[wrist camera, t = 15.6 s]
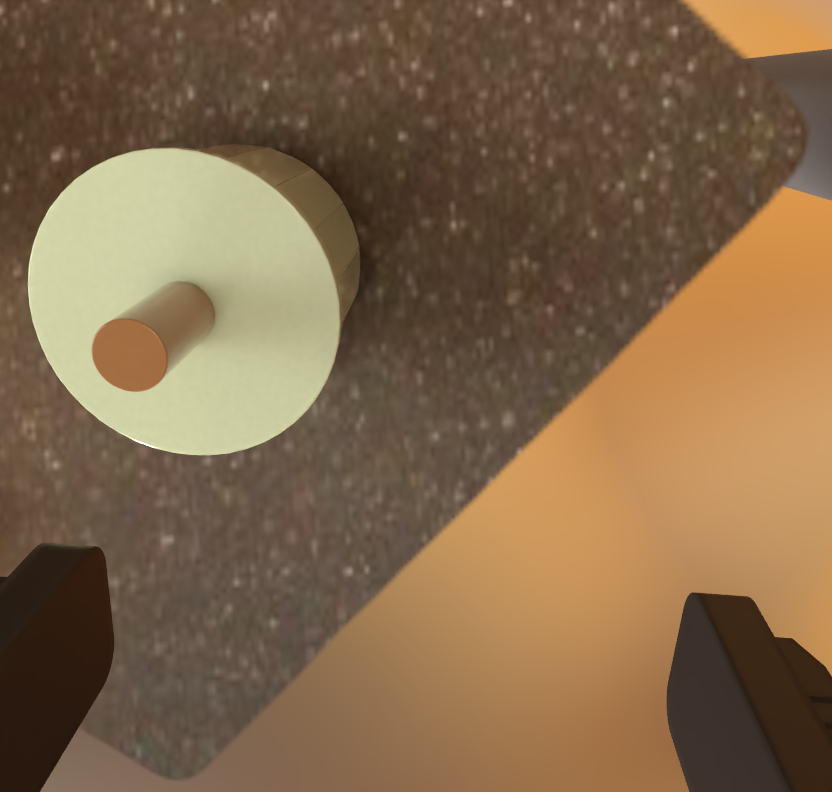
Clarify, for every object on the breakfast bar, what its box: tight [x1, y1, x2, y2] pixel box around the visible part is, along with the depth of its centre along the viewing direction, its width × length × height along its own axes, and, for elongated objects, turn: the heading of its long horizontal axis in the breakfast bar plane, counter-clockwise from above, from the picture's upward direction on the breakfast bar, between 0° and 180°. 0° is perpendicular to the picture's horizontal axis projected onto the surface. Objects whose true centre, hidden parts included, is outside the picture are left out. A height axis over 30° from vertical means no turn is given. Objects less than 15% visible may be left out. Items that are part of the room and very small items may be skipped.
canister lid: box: [28, 147, 342, 455], centre depth 29 cm, size 13×13×7 cm
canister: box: [200, 144, 360, 325], centre depth 37 cm, size 12×12×10 cm
